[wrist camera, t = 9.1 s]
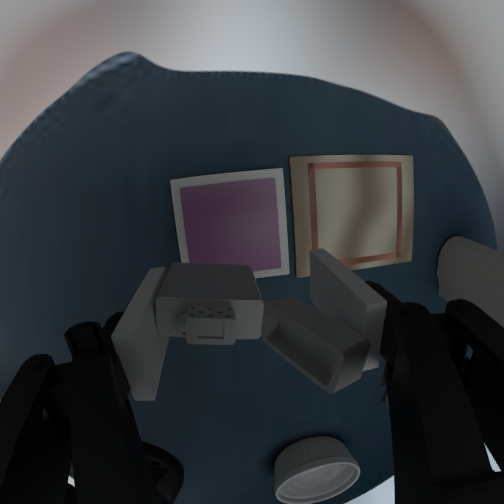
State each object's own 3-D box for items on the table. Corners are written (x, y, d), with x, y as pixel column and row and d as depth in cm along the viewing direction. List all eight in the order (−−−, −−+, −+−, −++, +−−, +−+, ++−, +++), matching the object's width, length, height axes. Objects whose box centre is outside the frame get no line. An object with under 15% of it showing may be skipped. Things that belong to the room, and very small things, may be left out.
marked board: (295, 276, 31) (297, 278, 31) (288, 157, 28) (290, 156, 27) (409, 259, 32) (411, 261, 32) (410, 155, 29) (413, 155, 28)
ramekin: (302, 422, 38) (314, 458, 31) (362, 436, 41) (377, 466, 34) (253, 467, 40) (258, 500, 34) (313, 477, 43) (322, 506, 37)
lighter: (171, 293, 15) (139, 397, 8) (170, 262, 15) (131, 351, 7) (304, 297, 16) (365, 392, 9) (308, 267, 16) (379, 349, 8)
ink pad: (187, 279, 30) (185, 287, 28) (172, 179, 27) (169, 180, 25) (285, 268, 31) (290, 275, 29) (279, 168, 28) (283, 168, 26)
